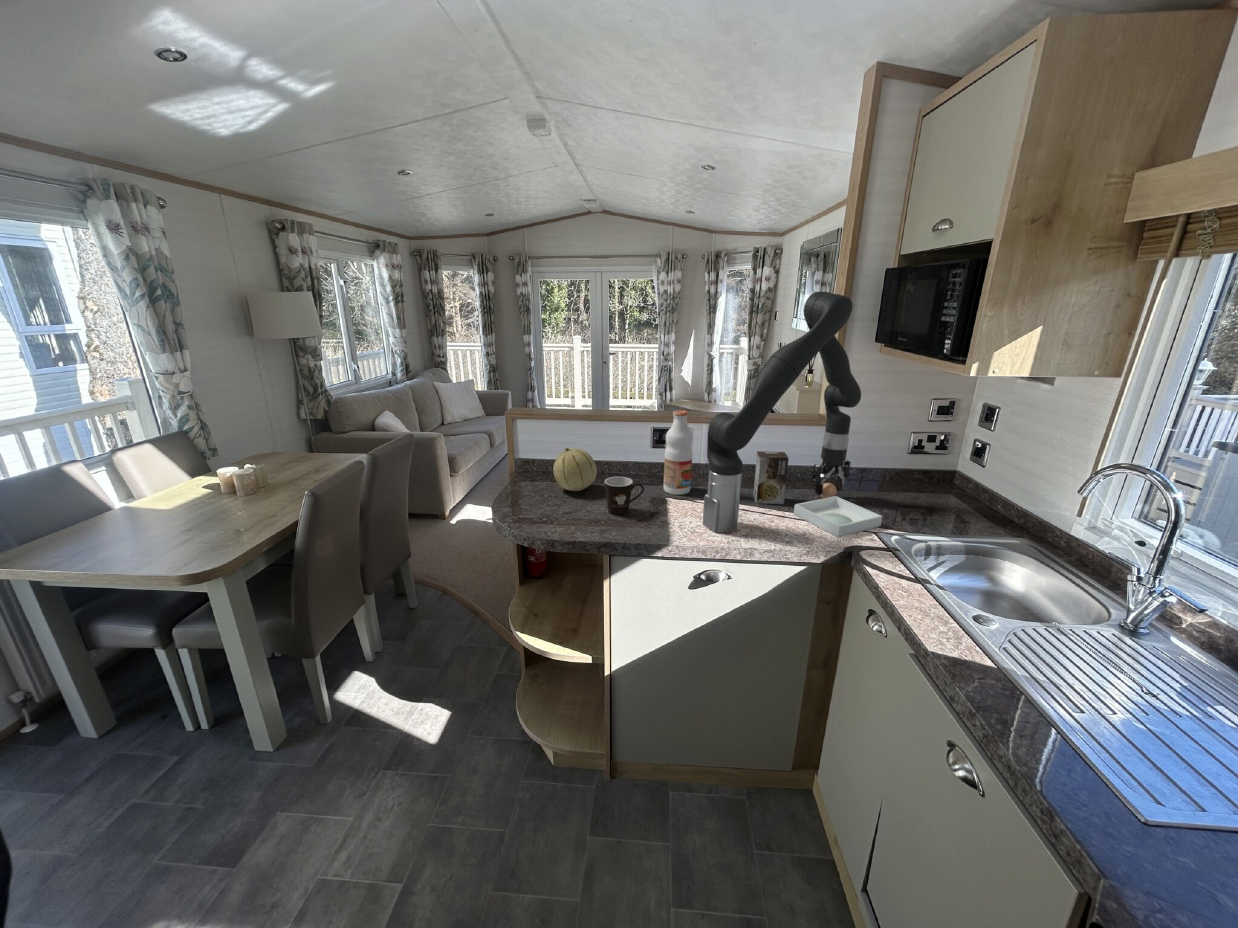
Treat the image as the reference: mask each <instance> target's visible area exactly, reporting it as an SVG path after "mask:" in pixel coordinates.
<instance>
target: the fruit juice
mask: <svg viewBox="0 0 1238 928" xmlns="http://www.w3.org/2000/svg"><path fill="white" fill-rule="evenodd" d="M672 416H673V420H672V421H673V422H672V424H671V426H670V428H669V430H668V431H667V432H666V434H665V442H666V447H665V449H664V464H663V465H664V467H663V469H664V470H663V491H665V492H666V493H668V494H670V495H674V496H675V495H677V496H682V495H686V494H688V493H690V492H691V489H692V471H693V469H692V468H693V455H694V454H693V453H694V452H693V448H692V444H693V441H694V434H693V432H692V431H691V430H690V428H689V424H688V416H689V412H688V411H687V410H684V409H677V410H673V411H672Z"/></svg>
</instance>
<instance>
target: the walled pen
mask: <svg viewBox="0 0 1238 928" xmlns="http://www.w3.org/2000/svg"><path fill="white" fill-rule="evenodd" d="M793 515H794V516H795V517H797V518H799V519H801V520H803V521H805V522H807V523H808V524H811V525H812V526H815V527H816V528H819V529H821V530H822V531H824V532H827V533H828V534H830V535H832V536H834V537H836V538H842V537H845V536H850V535H853V534H857V533H861V532H864V531H869V529H870V530H873V529H877V528H881V525H882V521H883V516H882V515H881V514H878V513H876V512H874V511H872V510H869V509H867V508H865V507H862V506H860V505H857V504H855V503H853V502H850V501H848V500H846V499H843V498H841V497H839V496H833V497H829V498H820V499H815V500H810V501H805V502H801V503H795V504H794V508H793Z"/></svg>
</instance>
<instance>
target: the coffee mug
mask: <svg viewBox="0 0 1238 928" xmlns="http://www.w3.org/2000/svg"><path fill="white" fill-rule="evenodd" d="M604 486H605V487H604V488H605V497H606V504H607V513H609V514H610V515H612V516H625V515H627V514H628V513H629V510H630V504H631V503H632V502H633V501H635V500H636V499H638V498H639V497H641V495H643V493H644V491H645V489H644V485H643V484H641V483H635V484H633V479H632V478H630V477H626V476H612V477H608V478H606V479H605V480H604ZM637 486H638V487H641V491H640V493H639V494H638V495H635V496H634V497H632V499H631V496H632V491H633V489H634V488H635V487H637Z"/></svg>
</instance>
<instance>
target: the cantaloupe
mask: <svg viewBox="0 0 1238 928" xmlns="http://www.w3.org/2000/svg"><path fill="white" fill-rule="evenodd" d="M552 468H553V475H554V479H555V481H556V483H557V484H558V485H559V487H561V488H562V489H564V490H566V491H570V492H580V491H582V490H585V489H587V488H588V487H590V486H592V484H593V482H594V481H595V479H596V477H597V470H598V469H597V465H596V462H595V460H594V459H593V457H592V455H591V454H590V453H589V452H587V451H585V450H583V449H581V448H572V449H571V448H568V447H566V448H564V451H563V452H562V453H560V454H559V455H558V456H557V457H556V459H555V461H554V463H553V467H552Z"/></svg>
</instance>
